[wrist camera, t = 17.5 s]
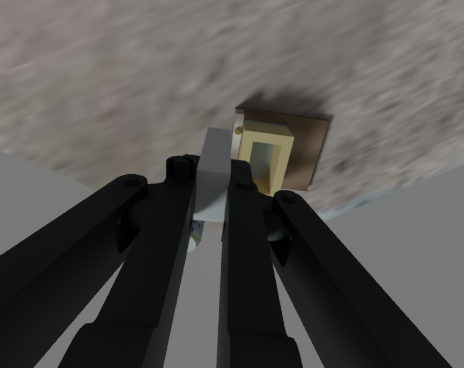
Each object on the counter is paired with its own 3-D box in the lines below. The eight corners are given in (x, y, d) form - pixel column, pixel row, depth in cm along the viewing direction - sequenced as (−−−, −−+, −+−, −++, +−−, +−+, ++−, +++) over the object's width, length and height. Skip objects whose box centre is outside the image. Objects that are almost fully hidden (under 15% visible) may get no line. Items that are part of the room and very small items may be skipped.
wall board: (235, 107, 40) (236, 114, 36) (326, 119, 41) (337, 127, 37) (226, 179, 46) (225, 191, 42) (305, 187, 47) (312, 201, 43)
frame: (242, 119, 39) (244, 130, 34) (286, 125, 40) (294, 137, 35) (233, 180, 45) (233, 197, 39) (271, 184, 45) (276, 202, 40)
